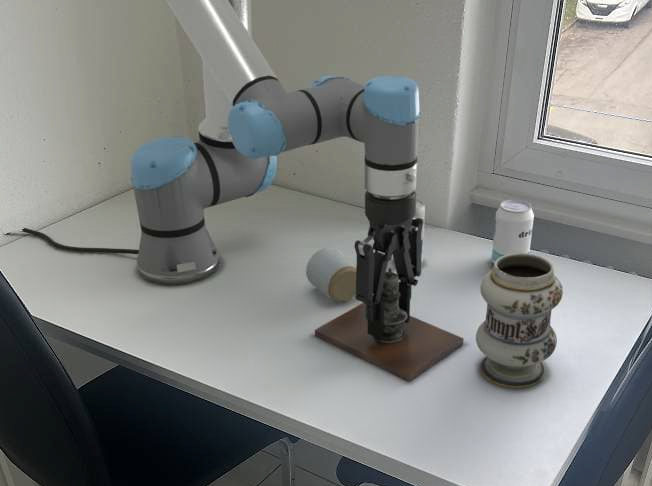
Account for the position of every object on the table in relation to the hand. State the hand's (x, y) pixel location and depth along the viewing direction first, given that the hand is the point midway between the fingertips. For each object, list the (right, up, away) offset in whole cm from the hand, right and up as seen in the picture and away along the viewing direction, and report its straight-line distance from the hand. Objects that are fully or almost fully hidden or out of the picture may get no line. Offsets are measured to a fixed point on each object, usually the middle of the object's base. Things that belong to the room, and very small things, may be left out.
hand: (388, 327), depth 130 cm
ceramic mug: (-8, +7, +15) cm, 19 cm away
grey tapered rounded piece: (0, -1, +1) cm, 2 cm away
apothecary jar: (+19, -7, -6) cm, 21 cm away
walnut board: (0, -2, +1) cm, 3 cm away
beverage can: (+24, +13, +24) cm, 36 cm away
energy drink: (+5, +14, +24) cm, 28 cm away
